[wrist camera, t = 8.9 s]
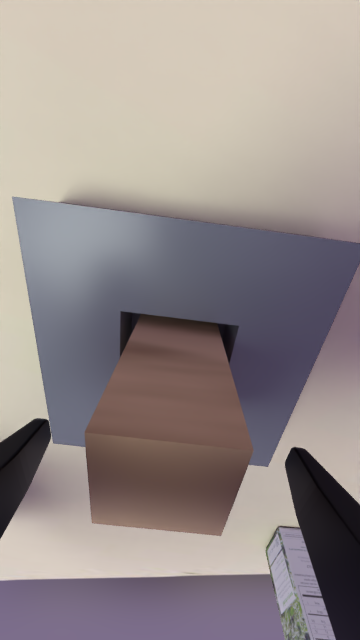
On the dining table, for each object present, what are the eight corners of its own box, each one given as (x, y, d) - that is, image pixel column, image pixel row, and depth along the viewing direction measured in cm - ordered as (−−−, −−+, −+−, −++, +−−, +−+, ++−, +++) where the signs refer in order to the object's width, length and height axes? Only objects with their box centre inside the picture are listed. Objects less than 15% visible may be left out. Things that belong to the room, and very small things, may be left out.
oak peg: (203, 373, 16) (220, 535, 8) (141, 366, 16) (91, 523, 8) (215, 316, 14) (253, 450, 6) (144, 307, 14) (83, 432, 6)
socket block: (253, 423, 19) (267, 466, 16) (76, 403, 19) (53, 443, 15) (321, 237, 13) (367, 244, 10) (58, 202, 12) (12, 196, 9)
